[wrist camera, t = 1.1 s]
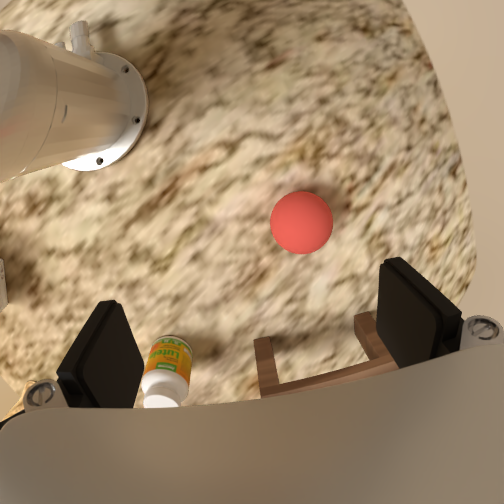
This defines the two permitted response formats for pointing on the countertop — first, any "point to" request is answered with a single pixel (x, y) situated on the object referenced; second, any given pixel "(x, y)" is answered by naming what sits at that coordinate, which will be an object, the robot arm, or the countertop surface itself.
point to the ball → (301, 222)
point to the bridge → (376, 366)
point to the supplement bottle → (167, 373)
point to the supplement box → (2, 287)
